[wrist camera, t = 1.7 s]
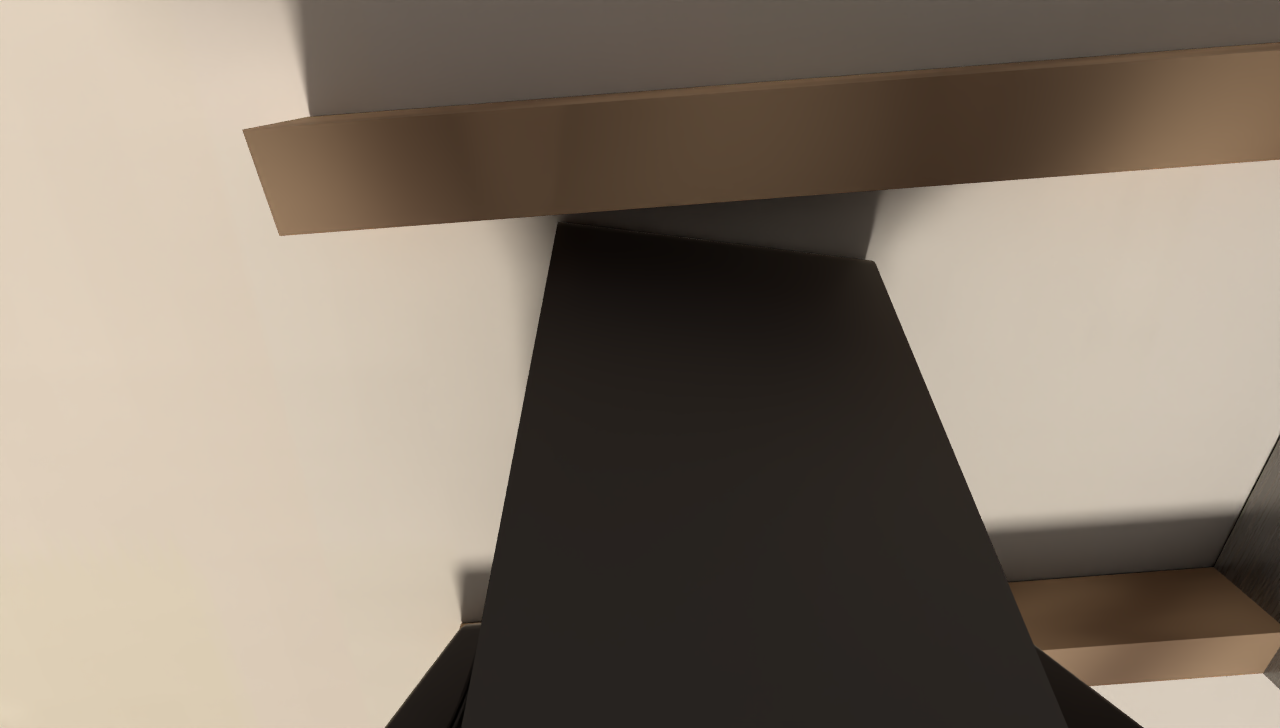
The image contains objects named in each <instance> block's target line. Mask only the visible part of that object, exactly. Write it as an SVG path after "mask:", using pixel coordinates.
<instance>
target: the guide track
mask: <svg viewBox="0 0 1280 728" xmlns="http://www.w3.org/2000/svg"><path fill="white" fill-rule="evenodd" d="M243 133H244V136H245V139H246V142H247V144H248V147H249V150H250V153H251V156H252V159H253V162H254V164H255V167H256V170H257V173H258V176H259V179H260V181H261V184H262V187H263V190H264V193H265V196H266V199H267V201H268V204H269V207H270V210H271V213H272V216H273V218H274V221H275V224H276V227H277V230H278V233H279V235H280V236H285V235H298V234H311V233H324V232H337V231H350V230H363V229H376V228H389V227H402V226H416V225H429V224H442V223H455V222H468V221H481V220H494V219H507V218H520V217H533V216H546V215H560V214H573V213H586V212H599V211H612V210H625V209H638V208H651V207H664V206H677V205H690V204H704V203H717V202H730V201H743V200H756V199H769V198H782V197H795V196H808V195H821V194H834V193H848V192H861V191H874V190H887V189H900V188H913V187H926V186H939V185H952V184H965V183H978V182H992V181H1005V180H1018V179H1031V178H1044V177H1057V176H1070V175H1083V174H1096V173H1109V172H1122V171H1136V170H1149V169H1162V168H1175V167H1188V166H1201V165H1214V164H1227V163H1240V162H1253V161H1266V160H1280V42H1277V43H1264V44H1251V45H1238V46H1225V47H1212V48H1199V49H1186V50H1173V51H1160V52H1147V53H1134V54H1121V55H1108V56H1095V57H1082V58H1069V59H1056V60H1043V61H1030V62H1017V63H1004V64H991V65H978V66H965V67H952V68H939V69H926V70H913V71H899V72H886V73H873V74H860V75H847V76H834V77H821V78H808V79H795V80H782V81H769V82H756V83H743V84H730V85H717V86H704V87H691V88H678V89H665V90H652V91H639V92H626V93H613V94H600V95H587V96H574V97H561V98H548V99H535V100H522V101H508V102H495V103H482V104H469V105H456V106H443V107H430V108H417V109H404V110H391V111H378V112H365V113H352V114H339V115H326V116H313V117H305V118H300V119H295V120H290V121H285V122H280V123H275V124H269V125H264V126H259V127H254V128H249V129H244V130H243ZM1008 584H1009V586H1010V589H1011V591H1012V594H1013V596H1014V598H1015V601H1016V603H1017V606H1018V608H1019V610H1020V613H1021V615H1022V618H1023V620H1024V622H1025V625H1026V627H1027V630H1028V632H1029V634H1030V637H1031V639H1032V642H1033V644H1034V645H1035V646H1037V647H1038V648H1039V649H1041V650H1042V651H1043V652H1045V653H1046V654H1047V655H1049V656H1050V657H1051V658H1053V659H1054V660H1055V661H1056V662H1058V663H1059V664H1060V665H1062V666H1063V667H1064V668H1066V669H1067V670H1068V671H1070V672H1071V673H1072V674H1074V675H1075V676H1076V677H1078V678H1079V679H1080V680H1081V681H1083V682H1084V683H1085V684H1087V685H1088V686H1098V685H1111V684H1125V683H1138V682H1151V681H1165V680H1178V679H1192V678H1205V677H1218V676H1232V675H1245V674H1258V673H1263V672H1264V671H1265V669H1266V668H1267V666H1268V664H1269V663H1270V661H1271V660H1272V658H1273V657H1274V655H1275V653H1276V652H1277V650H1278V649H1279V647H1280V623H1278V622H1277V621H1276V620H1275V619H1274V618H1273V617H1271V616H1270V615H1269V614H1268V613H1267V612H1266V611H1264V610H1263V609H1262V608H1261V607H1260V606H1259V605H1257V604H1256V603H1255V602H1254V601H1253V600H1252V599H1250V598H1249V597H1248V596H1247V595H1246V594H1245V593H1243V592H1242V591H1241V590H1240V589H1239V588H1238V587H1236V586H1235V585H1234V584H1233V583H1232V582H1231V581H1229V580H1228V579H1227V578H1226V577H1225V576H1224V575H1222V574H1221V573H1220V572H1219V571H1218V570H1217V569H1215V568H1214V567H1208V568H1195V569H1181V570H1168V571H1155V572H1142V573H1128V574H1115V575H1102V576H1088V577H1075V578H1062V579H1049V580H1035V581H1022V582H1009V583H1008ZM477 623H481V622H477ZM467 624H474V623H464V624H461V626H460V628H461V627H463V626H464V625H467Z"/></svg>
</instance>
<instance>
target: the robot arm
mask: <svg viewBox="0 0 1280 728" xmlns="http://www.w3.org/2000/svg"><path fill="white" fill-rule="evenodd" d="M480 627H481V623H474V624H467V625H464V626H463V627H461V628H460V629H459V631H458V632H457V633H456V635H455V636H454V637H453V639H452V640H451V641H450V643H449V644H448V645H447V646H446V648H445V649H444V650H443V652H442V653H441V654H440V656H439V657H438V658H437V660H436V661H435V662H434V664H433V665H432V666H431V668H430V669H429V670H428V671H427V673H426V674H425V675H424V677H423V678H422V679H421V681H420V682H419V683H418V685H417V686H416V687H415V689H414V690H413V691H412V693H411V694H410V695H409V697H408V698H407V699H406V700H405V702H404V703H403V704H402V706H401V707H400V708H399V710H398V711H397V712H396V714H395V715H394V716H393V718H392V719H391V720H390V722H389V723H388V724H387V725H386V727H385V728H461V727H462V722H463V717H464V711H465V706H466V701H467V696H468V690H469V685H470V680H471V675H472V669H473V664H474V659H475V654H476V648H477V643H478V638H479V633H480ZM1034 646H1035V645H1034ZM1035 649H1036V651H1037V654H1038V656H1039V659H1040V661H1041V663H1042V666H1043V668H1044V671H1045V673H1046V675H1047V678H1048V680H1049V683H1050V685H1051V687H1052V690H1053V692H1054V695H1055V697H1056V699H1057V702H1058V704H1059V707H1060V709H1061V711H1062V714H1063V716H1064V719H1065V721H1066V724H1067V726H1068V728H1143V727H1142V726H1141V725H1139V724H1138V723H1137V722H1135V721H1134V720H1133V719H1131V718H1130V717H1129V716H1127V715H1126V714H1125V713H1123V712H1122V711H1121V710H1120V709H1118V708H1117V707H1116V706H1114V705H1113V704H1112V703H1110V702H1109V701H1108V700H1106V699H1105V698H1104V697H1102V696H1101V695H1100V694H1099V693H1097V692H1096V691H1095V690H1093V689H1092V688H1091V687H1089V686H1088V685H1087V684H1085V683H1084V682H1083V681H1081V680H1080V679H1079V678H1078V677H1076V676H1075V675H1074V674H1072V673H1071V672H1070V671H1068V670H1067V669H1066V668H1064V667H1063V666H1062V665H1060V664H1059V663H1058V662H1056V661H1055V660H1054V659H1053V658H1051V657H1050V656H1049V655H1047V654H1046V653H1045V652H1043V651H1042V650H1041V649H1039V648H1038V647H1037V646H1035Z"/></svg>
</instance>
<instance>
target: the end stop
mask: <svg viewBox="0 0 1280 728" xmlns="http://www.w3.org/2000/svg"><path fill="white" fill-rule="evenodd" d="M1214 568H1215V569H1217V570H1218V571H1219V572H1220V573H1221V574H1222V575H1224V576H1225V577H1226V578H1227V579H1228V580H1229V581H1231V582H1232V583H1233V584H1234V585H1235V586H1236V587H1238V588H1239V589H1240V590H1241V591H1242V592H1243V593H1245V594H1246V595H1247V596H1248V597H1249V598H1250V599H1252V600H1253V601H1254V602H1255V603H1256V604H1257V605H1259V606H1260V607H1261V608H1262V609H1263V610H1264V611H1266V612H1267V613H1268V614H1269V615H1270V616H1271V617H1273V618H1274V619H1275V620H1276V621H1277V622H1278V623H1280V439H1279V441H1278V443H1277V445H1276V447H1275V449H1274V451H1273V453H1272V455H1271V457H1270V458H1269V460H1268V462H1267V464H1266V466H1265V468H1264V470H1263V472H1262V474H1261V476H1260V478H1259V480H1258V482H1257V484H1256V486H1255V488H1254V490H1253V492H1252V493H1251V495H1250V497H1249V499H1248V501H1247V503H1246V505H1245V507H1244V509H1243V511H1242V513H1241V515H1240V517H1239V519H1238V521H1237V523H1236V525H1235V527H1234V529H1233V530H1232V532H1231V534H1230V536H1229V538H1228V540H1227V542H1226V544H1225V546H1224V548H1223V550H1222V552H1221V554H1220V556H1219V558H1218V560H1217V562H1216V564H1215V566H1214ZM1263 674H1264V675H1265V676H1266V677H1268V678H1269V679H1270V680H1271V681H1272V682H1273V683H1274V684H1275V685H1276V686H1277V687H1278V688H1279V689H1280V647H1279V649H1278V650H1277V652H1276V653H1275V655H1274V657H1273V658H1272V660H1271V661H1270V663H1269V664H1268V666H1267V668H1266V669H1265V671H1264V672H1263Z"/></svg>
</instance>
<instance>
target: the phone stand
mask: <svg viewBox="0 0 1280 728" xmlns="http://www.w3.org/2000/svg"><path fill="white" fill-rule="evenodd" d="M461 728H1068V726H1067V724H1066V721H1065V719H1064V716H1063V714H1062V711H1061V709H1060V707H1059V704H1058V702H1057V699H1056V697H1055V695H1054V692H1053V690H1052V687H1051V685H1050V683H1049V680H1048V678H1047V675H1046V673H1045V671H1044V668H1043V666H1042V663H1041V661H1040V659H1039V656H1038V654H1037V651H1036V649H1035V646H1034V644H1033V642H1032V639H1031V637H1030V634H1029V632H1028V630H1027V627H1026V625H1025V622H1024V620H1023V618H1022V615H1021V613H1020V610H1019V608H1018V606H1017V603H1016V601H1015V598H1014V596H1013V594H1012V591H1011V589H1010V586H1009V584H1008V581H1007V579H1006V577H1005V574H1004V572H1003V569H1002V567H1001V565H1000V562H999V560H998V557H997V555H996V553H995V550H994V548H993V545H992V543H991V541H990V538H989V536H988V533H987V531H986V529H985V526H984V524H983V521H982V519H981V516H980V514H979V512H978V509H977V507H976V504H975V502H974V500H973V497H972V495H971V492H970V490H969V488H968V485H967V483H966V480H965V478H964V476H963V473H962V471H961V468H960V466H959V464H958V461H957V459H956V456H955V454H954V451H953V449H952V447H951V444H950V442H949V439H948V437H947V435H946V432H945V430H944V427H943V425H942V423H941V420H940V418H939V415H938V413H937V411H936V408H935V406H934V403H933V401H932V399H931V396H930V394H929V391H928V389H927V386H926V384H925V382H924V379H923V377H922V374H921V372H920V370H919V367H918V365H917V362H916V360H915V358H914V355H913V353H912V350H911V348H910V346H909V343H908V341H907V338H906V336H905V334H904V331H903V329H902V326H901V324H900V321H899V319H898V317H897V314H896V312H895V309H894V307H893V305H892V302H891V300H890V297H889V295H888V293H887V290H886V288H885V285H884V283H883V281H882V278H881V276H880V273H879V271H878V268H877V266H876V264H875V262H874V261H870V260H862V259H854V258H846V257H838V256H830V255H822V254H814V253H806V252H798V251H790V250H782V249H774V248H765V247H757V246H749V245H741V244H733V243H725V242H717V241H709V240H701V239H693V238H685V237H677V236H669V235H661V234H653V233H645V232H637V231H629V230H621V229H613V228H605V227H597V226H589V225H581V224H573V223H565V222H558V224H557V229H556V234H555V239H554V245H553V250H552V255H551V260H550V266H549V271H548V276H547V281H546V286H545V292H544V297H543V302H542V307H541V313H540V318H539V323H538V328H537V334H536V339H535V344H534V349H533V355H532V360H531V365H530V370H529V376H528V381H527V386H526V391H525V397H524V402H523V407H522V412H521V418H520V423H519V428H518V433H517V439H516V444H515V449H514V454H513V460H512V465H511V470H510V475H509V481H508V486H507V491H506V496H505V502H504V507H503V512H502V517H501V522H500V528H499V533H498V538H497V543H496V549H495V554H494V559H493V564H492V570H491V575H490V580H489V585H488V591H487V596H486V601H485V606H484V612H483V617H482V622H481V627H480V633H479V638H478V643H477V648H476V654H475V659H474V664H473V669H472V675H471V680H470V685H469V690H468V696H467V701H466V706H465V711H464V717H463V722H462V727H461Z"/></svg>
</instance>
